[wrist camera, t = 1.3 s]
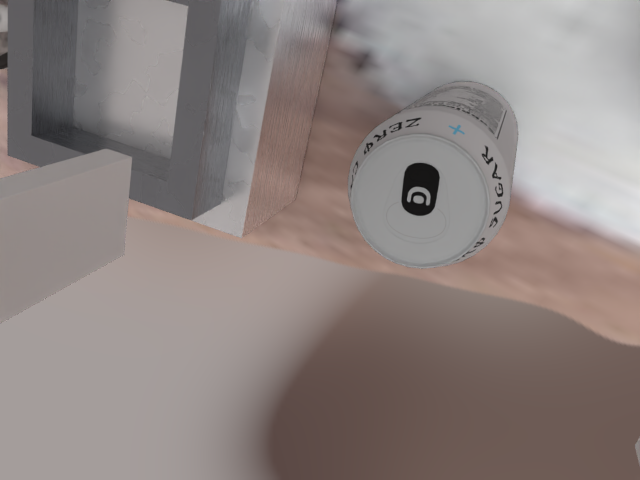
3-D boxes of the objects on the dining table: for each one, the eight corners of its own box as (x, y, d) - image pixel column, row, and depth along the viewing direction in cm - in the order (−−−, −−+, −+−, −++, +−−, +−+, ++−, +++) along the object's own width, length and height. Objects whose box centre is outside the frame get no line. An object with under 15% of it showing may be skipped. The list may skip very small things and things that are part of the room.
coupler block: (131, -81, 36) (-20, -122, 26) (344, -32, 33) (264, -57, 23) (114, 139, 41) (-15, 173, 32) (295, 199, 38) (214, 257, 29)
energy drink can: (404, 177, 36) (327, 266, 22) (418, 74, 33) (341, 104, 20) (507, 192, 34) (491, 299, 20) (528, 86, 32) (525, 127, 18)
